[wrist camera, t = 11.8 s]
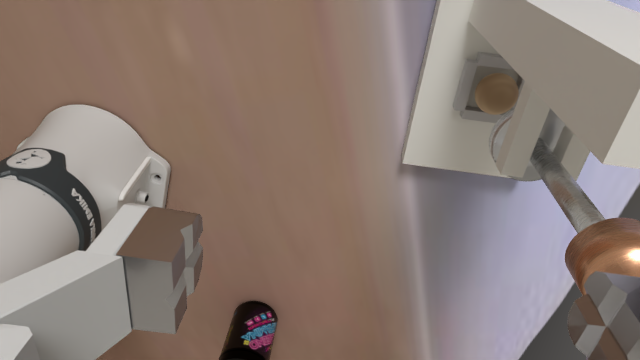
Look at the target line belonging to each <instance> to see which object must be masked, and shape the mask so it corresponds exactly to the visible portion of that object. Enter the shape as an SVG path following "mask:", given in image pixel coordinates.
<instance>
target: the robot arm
mask: <svg viewBox="0 0 640 360" xmlns="http://www.w3.org/2000/svg"><path fill="white" fill-rule="evenodd" d="M170 173H171V167H170V165H169V163H168V162H167V161H166V160H165V159H163V158H162V157H161V156H159V155H158V154H156V153H155V152H153V151H152V150H150V149H149V148H148V146H147V145H146V144H145V143H144V141H143V140H142V139H141V138H140V136H139V135H138V134H137V133H136V132H135V131H134V130H133V129H132V128H131V127H130V126H129V125H128V124H127V123H126V122H124V121H123V120H121V119H120V118H118V117H117V116H115V115H113V114H112V113H110V112H107V111H105V110H103V109H100V108H97V107H93V106H88V105H68V106H63V107H60V108H58V109H56V110H54V111H52V112H51V113H49V114H48V115H47V116H46V117H45V118H44V120H43V121H42V122H41V124H40V125H39V127H38V128H37V129H36V131H35V132H34V133H33V134H32V135H31V136H30V137H28V138H27V139H25V140H24V141H23V142H21V143H20V144H19V145H18V147H17V150H16V151H15V152H14V153H13V154H12V155H11V156H9V157H7V158H5V159H4V160H2V161H0V360H95V359H97V358H98V357H99V356H100V355H102V354H103V353H104V352H106V351H107V350H108V349H110V348H111V347H112V346H113V345H115V344H116V343H117V342H119V341H120V340H121V339H123V338H124V337H125V336H126V335H128V334H129V333H130V332H131V331H132V330H131V329H136V330H144V331H153V332H162V333H171V334H176V332H177V330H178V327H179V325H180V323H181V320H182V318H183V316H184V314H185V311H186V309H187V296H188V295H190V294H191V293H193V292H194V291H195V288H196V286H197V283H198V280H199V276H200V272H201V269H202V260H203V247H202V246H201V245H200V243H199V242H198V240H199V238H200V236H201V233H202V231H203V225H202V217H201V215H200V214H197V213H191V212H185V211H179V210H172V209H166V208H165V204H166V198H167V192H168V185H169V179H170ZM157 175H159V176H160V177H161V178H159V177H157ZM584 288H585V291H586V295H584V296H582V297H580V298H579V299H577V300H576V301H574V303H573V305H572V307H571V309H570V311H569V315H568V330H569V334H570V337H571V339H572V341H573V343H574V345H575V347H577V348H578V349H579V350H580V351H581V352H583V353H584V354H585V355H586V356H587V358H586V360H640V277H635V276H628V275H621V274H613V273H606V272H599V271H595V272H594V273H593V274H591V275H590V276H589V277H588V279H587V280H586V282H585V284H584Z"/></svg>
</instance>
